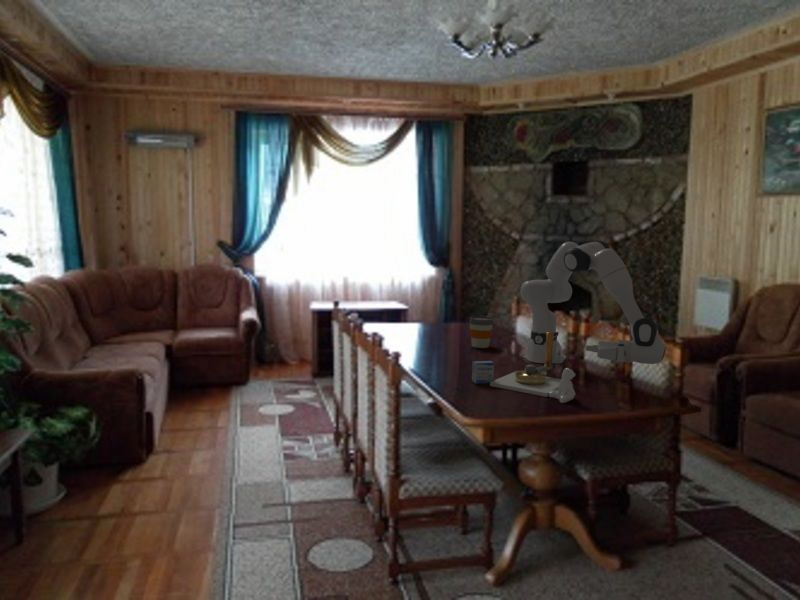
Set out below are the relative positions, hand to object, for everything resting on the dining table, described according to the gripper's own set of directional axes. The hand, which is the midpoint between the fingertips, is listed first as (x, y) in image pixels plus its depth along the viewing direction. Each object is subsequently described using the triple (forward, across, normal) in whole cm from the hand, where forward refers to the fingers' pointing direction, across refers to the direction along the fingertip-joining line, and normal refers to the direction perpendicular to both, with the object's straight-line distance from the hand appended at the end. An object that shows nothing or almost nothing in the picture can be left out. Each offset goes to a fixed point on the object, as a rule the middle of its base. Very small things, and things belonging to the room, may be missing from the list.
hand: (586, 347), depth 252 cm
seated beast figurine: (+6, +28, +15) cm, 32 cm away
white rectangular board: (+20, +13, +15) cm, 28 cm away
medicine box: (+39, +17, +15) cm, 45 cm away
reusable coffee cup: (+55, -56, +14) cm, 80 cm away
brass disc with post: (+19, +9, +13) cm, 24 cm away
